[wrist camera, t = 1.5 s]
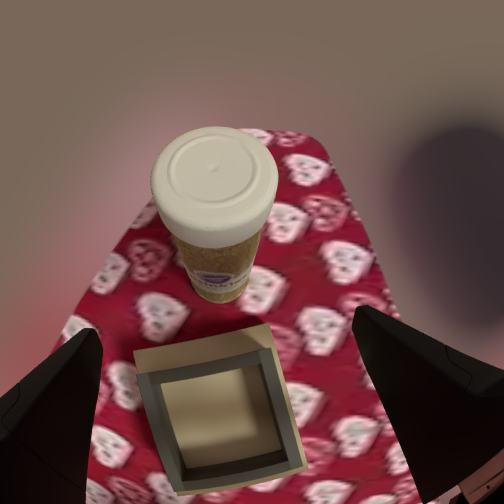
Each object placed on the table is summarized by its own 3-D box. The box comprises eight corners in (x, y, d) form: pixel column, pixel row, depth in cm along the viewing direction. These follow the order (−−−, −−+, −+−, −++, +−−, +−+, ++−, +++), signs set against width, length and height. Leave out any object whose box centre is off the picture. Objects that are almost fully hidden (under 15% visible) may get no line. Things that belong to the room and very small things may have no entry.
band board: (304, 463, 17) (318, 481, 13) (179, 489, 15) (172, 510, 12) (266, 324, 21) (274, 318, 17) (138, 351, 19) (120, 349, 16)
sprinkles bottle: (196, 309, 21) (150, 238, 8) (187, 253, 22) (147, 132, 10) (255, 298, 21) (296, 214, 9) (243, 243, 23) (262, 115, 10)
